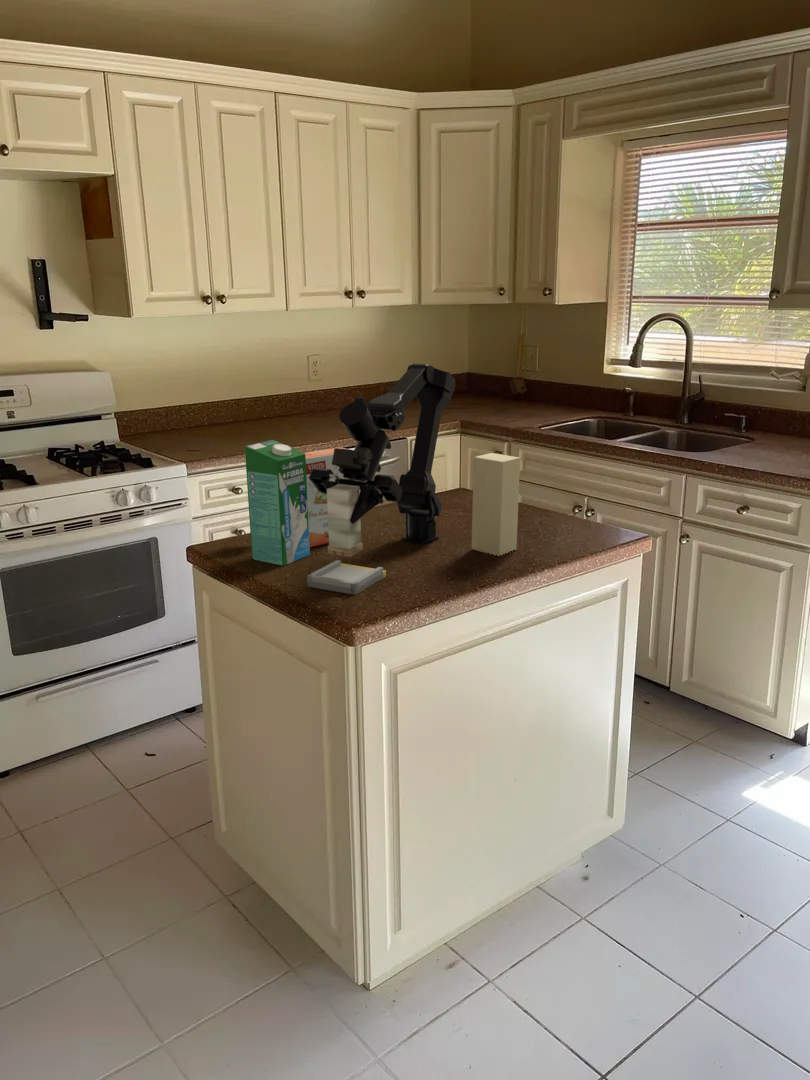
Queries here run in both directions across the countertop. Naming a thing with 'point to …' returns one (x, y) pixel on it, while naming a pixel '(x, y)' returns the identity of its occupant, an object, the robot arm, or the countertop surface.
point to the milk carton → (277, 502)
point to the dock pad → (345, 577)
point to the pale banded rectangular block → (343, 520)
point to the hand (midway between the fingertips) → (340, 521)
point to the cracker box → (318, 496)
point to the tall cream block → (495, 503)
